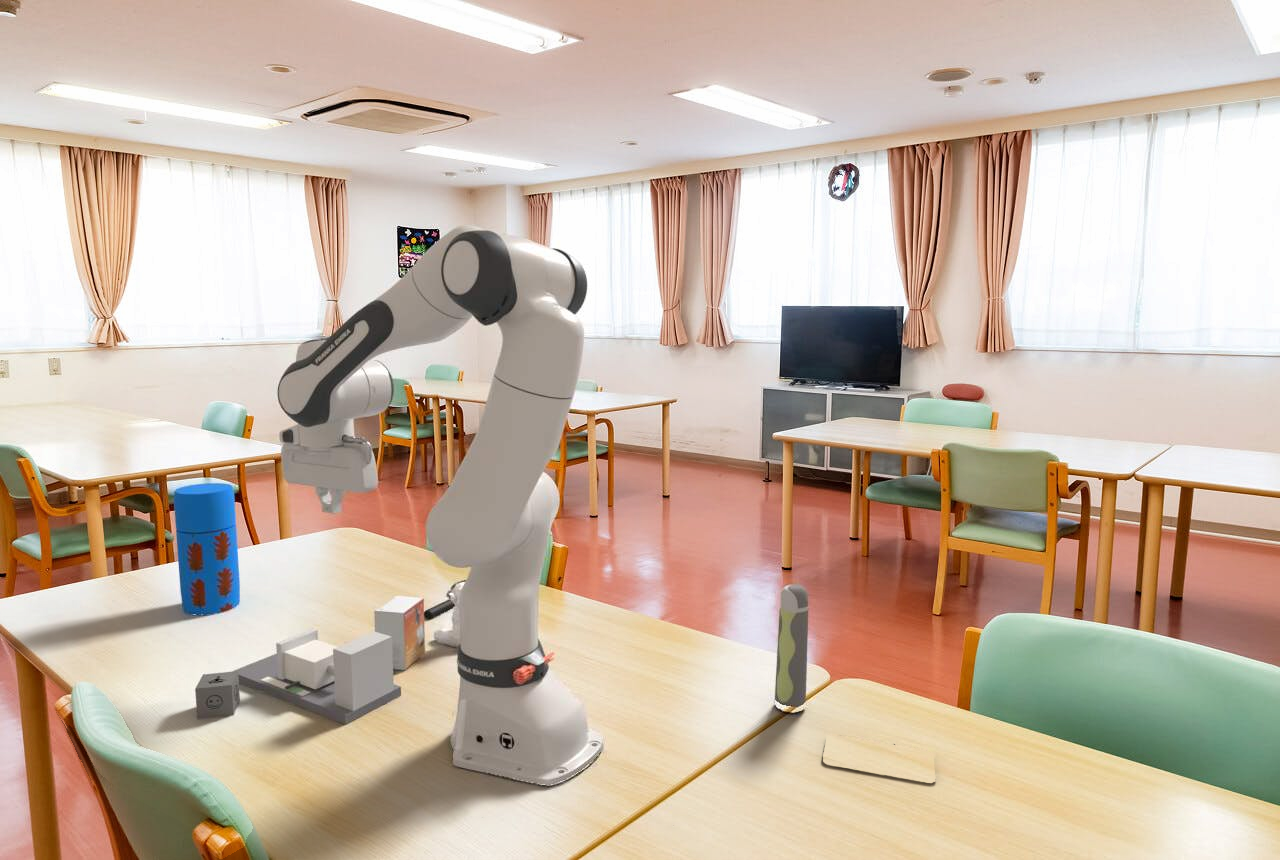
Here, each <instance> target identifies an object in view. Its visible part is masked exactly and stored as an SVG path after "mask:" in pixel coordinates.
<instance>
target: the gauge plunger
mask: <svg viewBox="0 0 1280 860" xmlns="http://www.w3.org/2000/svg"><path fill="white" fill-rule="evenodd" d="M318 634H319V632H318V629H316V628H311V629H308V630H305V631H304V632H301V633H298V634H295V635H292V636H291V637H288V638H285V639H283V640H280V641H277V642H276V643H275V645H276V646H275V647H276V648H275V649H276V654H277V668H278V678H280V679H285V678H286V679H288V680H291V681H294V682H295V683H292V684H290V685H288V686H286V687H285V689H289V688H291V687H293V686H296V685H298V684H302V685H305V686H307V687H310V688H313V689H318V688H320V687H322V686H324V685H326V684H329V683H331V682H333V681H334V660H333V649H334V648H336V647H338V646H336V645H332V644H330V643H327V642H324V641H322V640H319V635H318Z"/></svg>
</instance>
